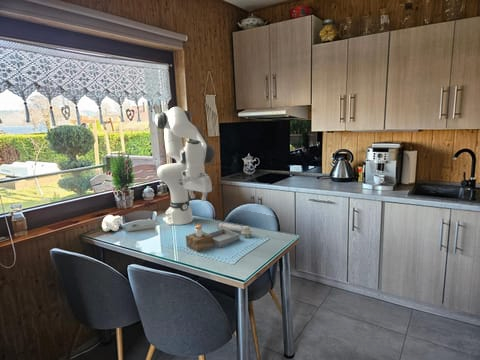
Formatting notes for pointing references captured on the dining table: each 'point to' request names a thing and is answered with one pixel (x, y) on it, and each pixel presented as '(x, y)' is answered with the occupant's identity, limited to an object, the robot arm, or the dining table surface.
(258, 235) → the dining table surface
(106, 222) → the white knot
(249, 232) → the electric toothbrush
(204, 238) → the hitch block
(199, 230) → the pin
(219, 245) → the tray
